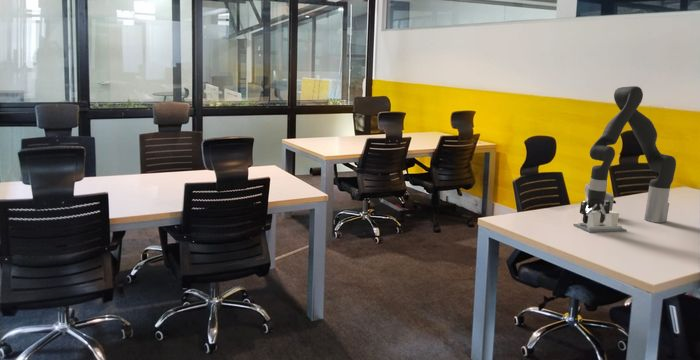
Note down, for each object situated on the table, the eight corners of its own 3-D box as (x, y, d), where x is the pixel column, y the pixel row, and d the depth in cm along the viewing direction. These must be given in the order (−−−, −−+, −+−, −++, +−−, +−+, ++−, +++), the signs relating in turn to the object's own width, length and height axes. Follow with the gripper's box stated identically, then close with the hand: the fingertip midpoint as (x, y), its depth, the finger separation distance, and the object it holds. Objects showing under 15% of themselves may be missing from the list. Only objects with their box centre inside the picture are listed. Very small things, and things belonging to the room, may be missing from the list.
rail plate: (609, 224, 293) (611, 208, 291) (626, 231, 282) (628, 215, 280) (573, 225, 287) (575, 209, 286) (589, 232, 276) (591, 216, 274)
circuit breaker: (614, 218, 305) (618, 189, 302) (584, 215, 307) (588, 186, 304) (611, 215, 312) (615, 186, 309) (581, 212, 314) (585, 183, 311)
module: (591, 225, 286) (593, 210, 285) (598, 228, 282) (600, 213, 280) (585, 225, 285) (587, 210, 284) (592, 228, 281) (594, 213, 279)
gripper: (605, 186, 285) (600, 220, 288) (579, 187, 281) (574, 221, 284) (616, 190, 278) (611, 224, 281) (589, 190, 274) (585, 225, 277)
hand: (593, 222), depth 283 cm, fingers open, 8 cm apart
